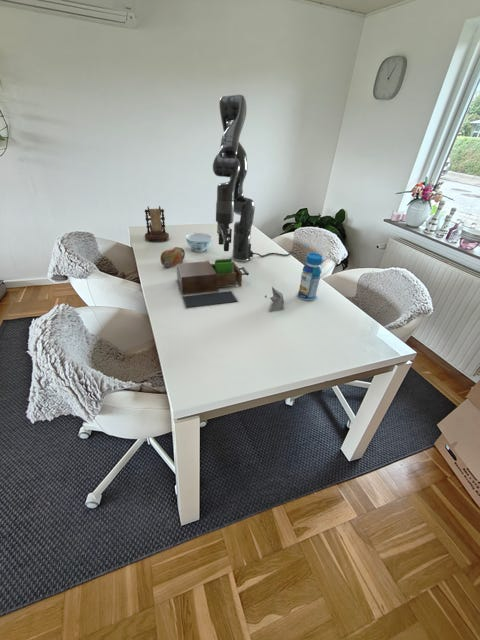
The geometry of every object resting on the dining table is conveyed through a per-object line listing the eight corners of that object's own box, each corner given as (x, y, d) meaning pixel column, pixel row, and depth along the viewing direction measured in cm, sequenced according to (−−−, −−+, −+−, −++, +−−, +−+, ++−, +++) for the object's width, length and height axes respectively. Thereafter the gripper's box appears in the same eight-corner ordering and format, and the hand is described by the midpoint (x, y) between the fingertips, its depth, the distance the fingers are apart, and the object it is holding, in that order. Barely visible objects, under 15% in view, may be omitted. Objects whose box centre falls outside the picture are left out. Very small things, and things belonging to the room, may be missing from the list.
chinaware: (216, 249, 182) (217, 236, 177) (201, 256, 171) (201, 243, 167) (197, 243, 188) (197, 231, 184) (181, 250, 177) (180, 237, 173)
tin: (164, 269, 154) (162, 253, 150) (160, 267, 156) (158, 252, 151) (185, 261, 164) (184, 246, 160) (181, 259, 166) (180, 244, 161)
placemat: (230, 291, 138) (230, 291, 138) (236, 301, 131) (237, 300, 131) (183, 297, 132) (183, 296, 132) (186, 307, 125) (186, 306, 125)
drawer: (241, 273, 154) (242, 260, 150) (250, 285, 143) (251, 272, 139) (204, 276, 148) (204, 263, 144) (211, 289, 138) (211, 275, 134)
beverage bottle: (315, 302, 135) (325, 260, 124) (297, 299, 136) (304, 257, 125) (315, 293, 142) (324, 253, 131) (297, 291, 143) (305, 250, 132)
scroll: (146, 243, 183) (142, 209, 171) (143, 235, 194) (139, 203, 183) (171, 241, 187) (168, 208, 176) (166, 234, 199) (164, 202, 188)
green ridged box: (229, 276, 147) (230, 257, 142) (231, 280, 144) (232, 260, 138) (214, 277, 145) (214, 258, 139) (216, 281, 142) (217, 262, 136)
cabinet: (208, 277, 150) (208, 261, 145) (216, 291, 138) (216, 274, 134) (177, 280, 145) (176, 263, 140) (182, 294, 134) (181, 277, 129)
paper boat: (287, 311, 125) (266, 306, 123) (280, 317, 131) (260, 312, 128) (287, 286, 130) (268, 281, 128) (281, 293, 136) (262, 288, 133)
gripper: (238, 215, 122) (236, 253, 131) (228, 206, 133) (227, 241, 142) (220, 215, 120) (219, 254, 129) (212, 206, 131) (211, 242, 140)
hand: (223, 247), depth 136 cm, fingers open, 8 cm apart
